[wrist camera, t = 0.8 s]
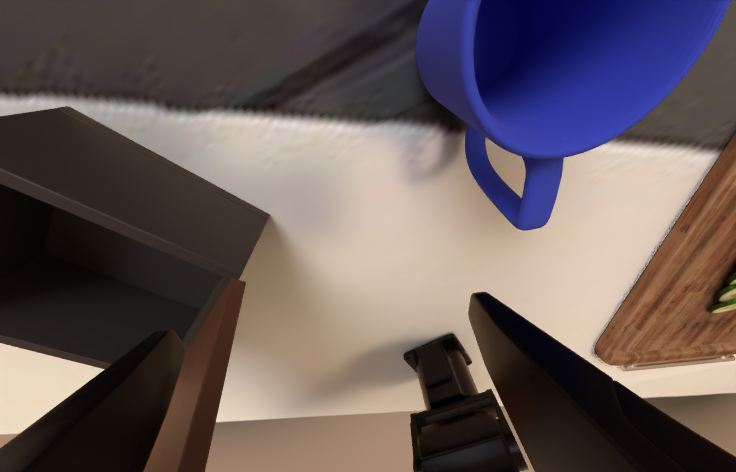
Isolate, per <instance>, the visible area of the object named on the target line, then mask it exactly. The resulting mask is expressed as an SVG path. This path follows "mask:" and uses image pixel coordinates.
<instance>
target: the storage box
mask: <svg viewBox="0 0 736 472" xmlns="http://www.w3.org/2000/svg"><path fill="white" fill-rule="evenodd" d="M269 216H270V215H269V214H267V213H265V212H264V211H262V210H260V209H258V208H256V207H254V206H252V205H251V204H249V203H247V202H245V201H243V200H241V199H239V198H238V197H236V196H234V195H232V194H230V193H228V192H226V191H225V190H223V189H221V188H219V187H217V186H215V185H213V184H212V183H210V182H208V181H206V180H204V179H202V178H200V177H199V176H197V175H195V174H193V173H191V172H189V171H187V170H186V169H184V168H182V167H180V166H178V165H176V164H174V163H173V162H171V161H169V160H167V159H165V158H163V157H161V156H160V155H158V154H156V153H154V152H152V151H150V150H148V149H147V148H145V147H143V146H141V145H139V144H137V143H135V142H134V141H132V140H130V139H128V138H126V137H124V136H122V135H121V134H119V133H117V132H115V131H113V130H111V129H109V128H108V127H106V126H104V125H102V124H100V123H98V122H96V121H94V120H93V119H91V118H89V117H87V116H85V115H83V114H81V113H80V112H78V111H76V110H74V109H72V108H70V107H68V106H66V107H60V108H57V109H56V108H55V109H48V110H41V111H35V112H28V113H21V114H14V115H8V116H1V117H0V343H3V344H7V345H11V346H15V347H19V348H23V349H27V350H31V351H35V352H39V353H43V354H47V355H51V356H55V357H58V358H62V359H66V360H70V361H74V362H78V363H82V364H86V365H90V366H94V367H98V368H102V369H106V368H108V367H109V366H110V365H112V364H113V363H114V362H116V361H117V360H118V359H119V358H121V357H122V356H123V355H125V354H126V353H127V352H129V351H130V350H131V349H133V348H134V347H135V346H137V345H138V344H139V343H141V342H142V341H143V340H145V339H146V338H147V337H149V336H150V335H151V334H153V333H154V332H156V331H159V330H168V329H171V330H173V331H175V333H176V334H177V336H178V337H179V338H180V340H181V341H182V343H183V344H184V346H185V352H186V350H187V348H188V347H189V345H190V344H191V342H192V340H193V339H194V337H195V336H196V334H197V332H198V331H199V329H200V328H201V326H202V324H203V323H204V321H205V320H206V318H207V316H208V315H209V313H210V312H211V310H212V308H213V307H214V305H215V304H216V302H217V301H218V299H219V297H220V296H221V294H222V293H223V291H224V289H225V288H226V286H227V285H228V283H229V281H230V280H231V279H232V278H235V279H239V277H240V276H241V274H242V272H243V270H244V268H245V266H246V264H247V262H248V260H249V258H250V256H251V253H252V251H253V249H254V247H255V245H256V243H257V241H258V239H259V237H260V235H261V233H262V230H263V228H264V226H265V224H266V222H267V220H268V218H269Z"/></svg>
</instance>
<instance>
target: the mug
mask: <svg viewBox="0 0 736 472" xmlns="http://www.w3.org/2000/svg"><path fill="white" fill-rule="evenodd" d="M730 2H731V0H429V1H428V3H427V5H426V8H425V10H424V12H423V15H422V17H421V20H420V24H419V28H418V33H417V39H416V61H417V67H418V71H419V74H420V77H421V80H422V82H423V84H424V86H425V87H426V89H427V91H428V92H429V93H430V95H431V96H432V97H433V98H434V99H435V100H436V101H438V102H439V103H440V104H442V105H443V106H444V107H446V108H447V109H448V110H450V111H451V112H452V113H454V114H455V115H457V116H458V117H459V118H461V119H462V120H463V121H465V122H466V123H468V125H467V129H466V135H465V153H466V159H467V163H468V166H469V169H470V171H471V173H472V175H473V177H474V179H475V180H476V182H477V183H478V185H479V186H480V188H481V189H482V190H483V192H484V193H485V194H486V196H487V197H488V198H489V199H490V200H491V201H492V203H493V204H494V205H495V206H496V207H497V208H498V209H499V211H500V212H501V213H502V214H503V215H504V216H505V217H506V218H507V219H508V220H509V222H510V223H512V224H513V225H514V226H515V227H516V228H517V229H520V230H532V229H536V228H541V227H542V226H544V225H545V224H546V223H547V222H548V220H549V218H550V215H551V212H552V209H553V206H554V203H555V200H556V197H557V192H558V188H559V184H560V180H561V176H562V168H563V158H564V157H569V156H573V155H576V154H580V153H583V152H586V151H589V150H591V149H594V148H596V147H598V146H600V145H602V144H604V143H607V142H608V141H610V140H612V139H614V138H615V137H617V136H619V135H620V134H622V133H624V132H625V131H627V130H628V129H629V128H631V127H632V126H634V125H635V124H636V123H638V122H639V121H640V120H642V119H643V118H644V117H645V116H646V115H648V114H649V113H650V112H651V111H652V110H653V109H655V108H656V107H657V106H658V105H659V104H660V103H661V102H662V101H663V100H664V99H665V98H666V97H667V96H668V95H669V94H670V93H671V92H672V91H673V90H674V89H675V87H676V86H677V85H678V84H679V83H680V81H681V80H682V79H683V78H684V77H685V75H686V74H687V73H688V72H689V71H690V69H691V68H692V67H693V66H694V64H695V63H696V61H697V60H698V58H699V57H700V56H701V54H702V53H703V51H704V50H705V48H706V47H707V45H708V43H709V42H710V40H711V39H712V37H713V36H714V34H715V32H716V30H717V28H718V26H719V25H720V23H721V21H722V19H723V17H724V15H725V13H726V11H727V9H728V7H729V4H730ZM485 137H487V138H488V139H489V140H491V141H492V142H494V143H495V144H496V145H498V146H499V147H501V148H503V149H505V150H506V151H509V152H511V153H513V154H516V155H519V156H522V158H523V160H524V163H525V169H526V177H525V183H524V190H523V196H522V198H520V197H519V196H518V195H517V194H516V193H515V192H514V191H513V190H512V189H511V188H510V187H509V186H508V185H507V184H506V183H505V182H504V181H503V180H502V179H501V178H500V177H499V176H498V174H497V173H496V172H495V170H494V169H493V167H492V166H491V164H490V162H489V159H488V156H487V152H486V145H485Z"/></svg>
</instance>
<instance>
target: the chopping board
mask: <svg viewBox="0 0 736 472" xmlns="http://www.w3.org/2000/svg"><path fill="white" fill-rule="evenodd" d="M595 351H596V353H597V355H598V356H599V357H600V358H601V359H602V360H603V361H604V362H605V363H607V364H609V365H621V366H620V368H621V369H622V370H623V371H634V370H644V369H654V368H664V367H674V366H684V365H695V364H705V363H715V362H725V361H734V360H735V357H734V356H733V354H736V133H735V134H734V136H733V137H732V139H731V140H730V142H729V143H728V145H727V146H726V148H725V149H724V151H723V152H722V154H721V155H720V157H719V158H718V160H717V161H716V163H715V164H714V166H713V168H712V169H711V171H710V172H709V174H708V175H707V177H706V178H705V180H704V181H703V183H702V184H701V186H700V187H699V189H698V190H697V192H696V193H695V195H694V196H693V198H692V199H691V201H690V202H689V204H688V205H687V207H686V208H685V210H684V211H683V213H682V215H681V216H680V218H679V219H678V221H677V222H676V224H675V225H674V227H673V228H672V230H671V231H670V233H669V234H668V236H667V237H666V239H665V240H664V242H663V243H662V245H661V246H660V248H659V249H658V251H657V252H656V254H655V255H654V257H653V258H652V260H651V261H650V263H649V265H648V266H647V268H646V269H645V271H644V272H643V274H642V275H641V277H640V278H639V280H638V281H637V283H636V284H635V286H634V287H633V289H632V290H631V292H630V293H629V295H628V296H627V298H626V299H625V301H624V302H623V304H622V305H621V307H620V308H619V310H618V311H617V313H616V315H615V316H614V318H613V319H612V321H611V322H610V324H609V325H608V327H607V328H606V330H605V331H604V333H603V334H602V336H601V337H600V339H599V340H598V342H597V344H596V347H595Z"/></svg>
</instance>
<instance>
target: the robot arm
mask: <svg viewBox="0 0 736 472" xmlns="http://www.w3.org/2000/svg"><path fill="white" fill-rule="evenodd" d="M468 315H469V320H470V323H471V326H472V329H473V331H474V334H475V337H476V340H477V343H478V346H479V349H480V352H481V355H482V357H483V360H484V363H485V366H486V368H487V370H488V373H489V375H490V377H491V379H492V381H493V384H494V386H495V388H496V390H497V392H498V394H499V396H500V398H501V401H502V403H503V405H504V407H505V409H506V411H507V413H508V415H509V418H510V420H511V422H512V424H513V426H514V428H515V430H516V433H517V435H518V437H519V439H520V441H521V443H522V445H523V447H524V450H525V452H526V454H527V456H528V458H529V460H530V462H531V464H532V466H533V469H534V471H535V472H736V457H735V456H733V455H732V454H730V453H728V452H726V451H725V450H723V449H722V448H720V447H718V446H717V445H715V444H714V443H712V442H710V441H709V440H707V439H705V438H704V437H702V436H700V435H699V434H697V433H695V432H694V431H692V430H691V429H689V428H688V427H686V426H684V425H683V424H681V423H680V422H678V421H676V420H675V419H673V418H671V417H670V416H668V415H667V414H665V413H664V412H662V411H660V410H659V409H657V408H656V407H654V406H653V405H651V404H650V403H648V402H647V401H645V400H644V399H642V398H641V397H639V396H638V395H636V394H635V393H633V392H632V391H630V390H629V389H628V388H626V387H625V386H623V385H622V384H620V383H619V382H617V381H613V379H612V378H611V377H610V376H608V375H607V374H605V373H604V372H602V371H601V370H600V369H598V368H597V367H595V366H594V365H592V364H591V363H589V362H588V361H586V360H585V359H584V358H582V357H581V356H579V355H578V354H576V353H575V352H573V351H572V350H570V349H569V348H567V347H566V346H565V345H563V344H562V343H560V342H559V341H557V340H556V339H554V338H553V337H551V336H550V335H548V334H547V333H546V332H544V331H543V330H541V329H540V328H538V327H537V326H535V325H534V324H532V323H531V322H529V321H528V320H527V319H525V318H524V317H522V316H521V315H519V314H518V313H516V312H515V311H513V310H512V309H510V308H509V307H508V306H506V305H505V304H503V303H502V302H500V301H499V300H497V299H496V298H494V297H493V296H491V295H490V294H489V293H487V292H477V293H473V294H472V295H471V298H470V304H469V311H468ZM184 356H185V346H184V344H183V343H182V341H181V340H180V338H179V337H178V336H177V334H176V333H175V331H173V330H171V329H168V330H159V331H156V332H154V333H153V334H151V335H150V336H149V337H147V338H146V339H145V340H143V341H142V342H141V343H139V344H138V345H137V346H135V347H134V348H133V349H131V350H130V351H129V352H127V353H126V354H125V355H123V356H122V357H121V358H119V359H118V360H117V361H116V362H114V363H113V364H112V365H110V366H109V367H108V368H106V369H105V370H104V371H102V372H101V373H100V374H98V375H97V376H96V377H94V378H93V379H92V380H90V381H89V382H88V383H86V384H85V385H84V386H82V387H81V388H80V389H78V390H77V391H76V392H74V393H73V394H72V395H70V396H69V397H68V398H66V399H65V400H64V401H62V402H61V403H60V404H58V405H57V406H56V407H54V408H53V409H52V410H50V411H49V412H48V413H47V414H45V415H44V416H43V417H41V418H40V419H39V420H37V421H36V422H35V423H33V424H32V425H31V426H29V427H28V428H27V429H25V430H24V431H23V432H21V433H20V434H19V435H17V436H16V437H15V438H13V439H12V440H11V441H9V442H8V443H7V444H5V445H4V446H3V447H1V448H0V472H144V469H145V467H146V464H147V462H148V459H149V457H150V454H151V452H152V449H153V447H154V444H155V442H156V439H157V437H158V434H159V432H160V429H161V427H162V424H163V422H164V419H165V417H166V414H167V412H168V409H169V406H170V403H171V400H172V397H173V393H174V390H175V387H176V383H177V380H178V377H179V373H180V370H181V366H182V363H183V360H184ZM403 356H404V360H405V361H406V362H407V363H408V364H409V365H410V366H411V367H412V368H413V369H414V371H415V372H416V373H417V374H418V378H419V382H420V386H421V390H422V394H423V398H424V402H425V406H426V411H423V412H419V413H413V414H411V415H410V416H411V423H410V426H411V437H412V446H413V470H414V472H520V471H524V470H528V467H527V465H526V462H525V460H524V458H523V455H522V453H521V451H520V449H519V446H518V444H517V442H516V440H515V438H514V436H513V433H512V431H511V429H510V427H509V425H508V423H507V421H506V419H505V417H504V414H503V412H502V410H501V408H500V406H499V404H498V402H497V400H496V398H495V396H494V394H493V391H492V389H488V390H486V392H482V393H478V390H477V388H476V385H475V383H474V381H473V378H472V376H471V374H470V371H469V369H468V365H470V364H471V363H472V361H471V359H470V357H469V355H468V354H467V352H466V351H465V349H464V348H463V347H462V345H461V344H460V342H459V341H458V339H457V338H456V336H455V335H454V334H448V335H446V336H443V337H441V338H439V339H437V340H434V341H432V342H430V343H427V344H425V345H423V346H420V347H418V348H416V349H413V350H411V351H409V352H406V353H405V354H404V355H403ZM496 417H498V419H496Z"/></svg>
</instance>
